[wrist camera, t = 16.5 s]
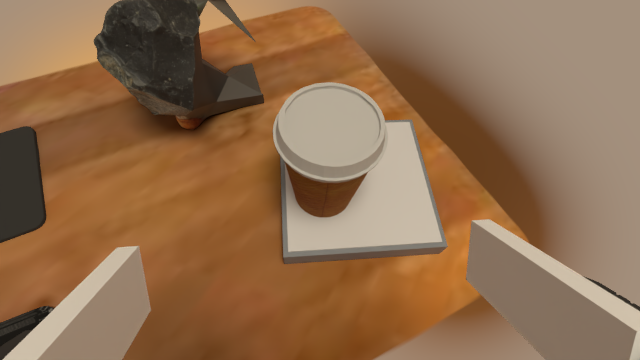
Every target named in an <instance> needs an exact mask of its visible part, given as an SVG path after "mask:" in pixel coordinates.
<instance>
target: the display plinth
mask: <svg viewBox="0 0 640 360" xmlns="http://www.w3.org/2000/svg"><path fill="white" fill-rule="evenodd" d="M385 125H386V127H387V133H388V143H387V148H386V150H385V153H384V155H383V157H382V158H381V160H380V161H379V162H378V164H377V165H376V166H375V167H374V168H373V169H371V170H370V171H369V172H368V173H367V175H366V176H365V178H364V180H363V181H362V183H361V185H360V186H359V188H358V189H357V191H356V193H355V194H354V196H353V197H352V199H351V201H350V202H349V204H348V206H347V207H346V208H345V209H344V210H343V211H342V212H341V213H339V214H337V215H335V216H332V217H316V216H313V215H310V214H308V213H307V212H305V211H304V210H303V209H302V208H301V207H300V206H299V204H298V203H297V201H296V198H295V194H294V191H293V188H292V184H291V182H290V178H289V175H288V171H287V168H286V164H285V162H284V160H283V158H282V157H281V156H280V160H281V194H282V229H283V259H284V264H291V263H306V262H321V261H336V260H350V259H365V258H380V257H395V256H409V255H424V254H439V253H441V252H442V251H443V250H444V249H445V248H447V247H448V246H447V243H446V239H445V236H444V232H443V229H442V225H441V221H440V218H439V214H438V211H437V207H436V204H435V200H434V197H433V193H432V190H431V186H430V182H429V179H428V175H427V172H426V168H425V165H424V161H423V158H422V154H421V151H420V147H419V143H418V140H417V136H416V133H415V129H414V126H413V122H412V120H387V121H385Z"/></svg>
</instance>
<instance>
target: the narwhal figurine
mask: <svg viewBox="0 0 640 360" xmlns="http://www.w3.org/2000/svg"><path fill="white" fill-rule="evenodd" d="M207 1H210V2H211V3H212V4H213V5H214V6H215V7H216V8H217V9H219V10H220V11H221V12H222V13H223V14H224V15H226V16H227V17H228V18H229V19H230V20H231V21H232V22H233V23H235V24H236V25H237V26H238V27H239V28H240V29H241V30H243V31H244V32H245V33H246V34H247V35H248V36H249V37H251V38H252V36H251V35H250V33H249V32H248V31H247V29H246V28H245V27H244V25H243V24H242V22H241V21H240V20H239V18H238V17H237V16H236V14H235V13H234V11H233V10H232V9H231V7H230V6H229V5H228V3H227V2H226V1H225V0H122V1H119V2H117V3H115V4H114V5H113V6H111V8H110V9H109V10H108V11H107V13H106V15H105V20H104V24H103V29H102V31H101V33H100V34H98V35H97V36H96V37H95V39H94V44H95V46H96V48H97V59H98V61H99V62H100V64H101V65H102V66H103V68H105V69H106V70H107V71H109V72H110V74H112V75H113V76H114V77H115V78H117V79H118V80H119V81H120V82H121V83H122V84H123V85H124V86H125V87H126V88H127V89H128V90H129V92H130V93H131V94H132V95H134V96H135V97H136V98H137V100H138V101H139V102H140V104H142V105H144V106H145V107H147V108H148V109H149V110H150V111H151V112H152V114H154V115H158V114H163V115H164V116H165V115H175V117H176V119H177V121H178V123H179V125H180V126H181V127H183V128H185V129H196V128H197V127H198V126H199V125H200V123H201V122H202V121H203V120H205V119H206V118H208V117H209V116H211V115H214V114H218V113H222V112H226V111H230V110H234V109H238V108H242V107H246V106H251V105H256V104H261V103H264V98H263V94H261V91H260V88H259V85H258V81H257V78H256V75H255V72H254V68H253V65H252V63H251V64H245V65H239V66H234V67H233V68H231V69H230V70H229V71H228V72H227V73H226V74H224V73H223V72H221V71H220V70H218V69H217V68H215V67H214V66H212V65H211V64H209V63H208V62H206V61H205V60H203V59H202V55H201V47H200V39H199V31H198V30H199V25H200V19H199V16H200V14H201V13H202V11H203V9H204V7H205V5H206V3H207ZM252 39H253V38H252ZM253 40H254V39H253ZM254 41H255V40H254Z"/></svg>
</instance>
